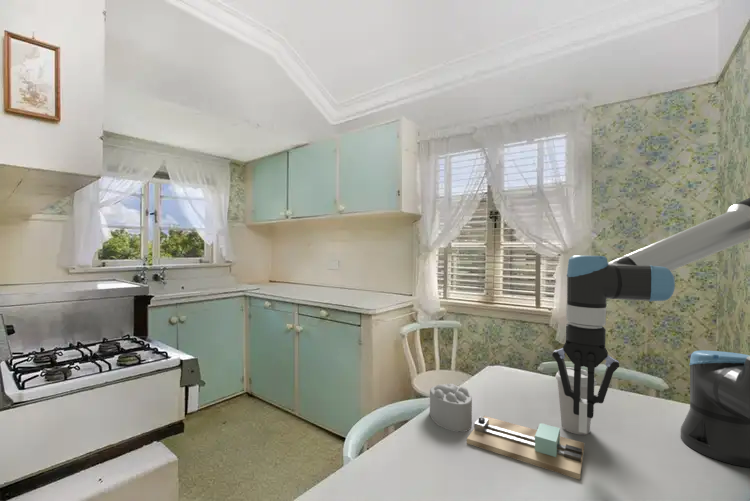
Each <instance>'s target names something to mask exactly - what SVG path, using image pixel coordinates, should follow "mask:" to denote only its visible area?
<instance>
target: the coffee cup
mask: <svg viewBox="0 0 750 501" xmlns="http://www.w3.org/2000/svg"><path fill="white" fill-rule="evenodd" d="M566 370H567V374H568V378H569V382H570V386H571V390H573V391H574V367H571V366H568V367H567V366H566ZM554 378H555V379H556V380H557V390H558V398H559V399H558V400H559V413H560V421H561V422H560V424H561V425H560V426H561V428H563V429H564V431H566V432H568V433H571V434H575V435H578V436H579V435H580V436H582V435H585V436H586V435H589V433H590V430H591V420H592V418H588V417H587V433H582V432H579V415H576V414H574V412H573V402H574V401H573V399H572V398H571V397H569V396H566V395H565V394H564V389H563V385H562V381H561V377H560V372H559V370H558V371H557V372H556V374H555V377H554ZM587 380H588V370H587V369H582V368H581V393H580V394H581V395H580V398H582V399H587ZM597 385H598V383H597V380H596V378H595V377H594V388H595V387H596V386H597Z"/></svg>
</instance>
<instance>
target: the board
mask: <svg viewBox="0 0 750 501" xmlns="http://www.w3.org/2000/svg"><path fill="white" fill-rule="evenodd" d="M482 417H483V418H487V419H489V425H492V426H496V427H499V428H503V429H507V430H510V431H514V432H517V433H521V434H524V435H528V436H531V437H535V434H536V432H537V429H534V428H532V427H531V428H530V427H527V426H523V425H519V424H516V423H513V422H508V421H506V420H501V419H497V418H493V417H489V416H486V415H483V416H482ZM487 429H488V428H487ZM489 430H491V429H489ZM492 431H495V430H492ZM495 432H498V431H495ZM499 433H502V432H499ZM502 434H505V433H502ZM506 435H509V434H506ZM509 436H512V435H509ZM513 437H516V436H513ZM516 438H519V437H516ZM520 439H523V438H520ZM523 440H526V439H523ZM526 441H530V440H526ZM530 442H533V441H530ZM533 443H535V442H533ZM466 444H467V445H471V446H475V447H477V448H480V449H483V450H485V451H489V452H493V453H496V454H498V455H502V456H506V457H509V458H512V459H514V460H518V461H520V462H524V463H526V464H529V465H533V466H537V467H539V468H542V469H545V470H548V471H550V472H551V471H552V472H555V473H557V474H560V475H564V476H567V477H571V478H573V479H577V480H581V474H582V468H583V460H584V453H585V442H582V441H578V440H575V439H570V438H567V437H563V436H561V435H560V445H563V446H566V444H567V445H570V446H574V447H577V448H581V449H582V455H581V462H579V461H576V460H572V459H569V458H565V457H564V456H561V455H558V454H557V456H556V457H553V456H550V455H547V454H543V453H540V452H537V451H535V448H534V447H531V446H527V445H524V444H521V443H517V442H514V441H511V440H507V439H504V438H501V437H497V436H494V435H490V434H487V433H482V432H478V431H475V430H474V429H473V430H472V431H471V432H470V434H468V436H467V438H466ZM557 450H561V449H557ZM561 451H564V450H561Z"/></svg>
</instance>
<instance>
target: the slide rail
mask: <svg viewBox="0 0 750 501" xmlns="http://www.w3.org/2000/svg"><path fill="white" fill-rule="evenodd" d="M473 426H474V429H473V430H475V431H478V432H482V433H487V434H490V435H494V436H497V437H501V438H504V439H507V440H511V441H514V442H517V443H521V444H524V445H527V446H531V447H534V448H535V443H533V442H535V437H531V436H528V435H524V434H521V433H517V432H514V431H510V430H507V429H503V428H499V427H496V426H492V425H489V419H487V418H483V416H479V417H478V418H477V419H476V421H475V422H474V424H473ZM487 428H488V429H487ZM489 429H491V430H489ZM492 430H495V431H498V432H495V431H492ZM499 432H502V433H505V434H502V433H499ZM506 434H509V435H512V436H509V435H506ZM513 436H516V437H519V438H516V437H513ZM520 438H523V439H526V440H530V441H533V442H530V441H526V440H523V439H520ZM557 449H561V450H564V451H561V450H557V454H558V455H561V456H564V457H565V458H569V459H572V460H576V461H579V462H581V455H582V449H581V448H577V447H574V446H570V445H567V444H566V446H563V445H560V444H557Z"/></svg>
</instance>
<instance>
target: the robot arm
mask: <svg viewBox="0 0 750 501" xmlns="http://www.w3.org/2000/svg"><path fill="white" fill-rule="evenodd" d="M747 241H750V197H749V198H746V199H744V200H742V201H739V202H736V203H734V204H733V205H731V206H729V207H728V208H727V209H726V212H724V213H722V214H720V215H718V216H715V217H712V218H710V219H708V220H705V221H703V222H701V223H698V224H696V225H694V226H692V227H689V228H687V229H685V230H682V231H679V232H677V233H674V234H673V235H670V236H667V237H665V238H663V239H660V240H658V241H655V242H653V243H651V244H649V245H646V246H643V247H642V248H639V249H637V250H635V251H632V252H630V253H628V254H625V255H623V256H620V257H617V258H615V259H613V260H611V261H608V258H607V257H606V256H605V255H583V254H582V255H578V254H577V255H575V254H574V255H572V256H570V257H569V258H568V260H567V262H568V263H567V269H566V270H567V271H566V272H567V273H566V294H567V295H566V311H565V314H566V322H567V324H566V325H565V342H564V344H563V346H562V348H559V349H554V350H553V352H552V353H551V354H552V357H553V358H554V360H555V362H556V364H557V368H558V371H559V372H560V377H561V381H562V385H563V389H564V394H565V395H566V396H569V397H571V398H572V399H573V401H574V402H573V412H574V414H576V415H579V432H582V433H587V417H588V418H591V419H593V418H594V413H595V412H594V411H595V410H594V405H595V404H603V403H604V401H605V398H606V395H607V392H608V389H609V386H610V385H611V381H612V378H613V375H614V373H615V372H616V371H617V369H618V368H619V367H620V361H619V360H618V359H616V358H613V357H612V356H610V355H609V353H608V352H609V351H608V350H607V348H606V334H607V332H606V328H605V327H604V326H606V322H607V300H627V301H630V300H631V301H642V302H643V301H646V302H650V303H651V302H663V301H668V300H670V299H671V297H672V296H673V295H674V292H675V288H676V287H675V284H676V280H675V277H674V274H673V273H672V271H674V270H677V269H679V268H682V267H684V266H687V265H689V264H691V263H694V262H696V261H699V260H702V259H705V258H707V257H710V256H711V255H714V254H717V253H719V252H721V251H726V250H727V249H729V248H731V247H734V246H736V245H740V244H742V243H745V242H747ZM565 354H566V355H565ZM566 356H567V357H568V359H569V360H570V362H571V363H572V364H573V368H574V391H573V390H571V386H570V382H569V378H568V374H567V370H566V367H567V366H566V362H565V357H566ZM604 361H605V366H606V369H605V372H604V374H603V377H602V380H601V384H600V386H599V389H598V392H597V394H595V387H594V378H595V370H596V368H597V367H599V365H600V364H602V363H603V362H604ZM688 366H689V410H688V412H687V415H686V416H685V418H684V420H683V422H682V425H681V426H680V440H681V441H682V442H683V444H685V445H686V446H688V447H689V448H691V449H692V450H694V451H696V452H698V453H700V454H702V455H704V456H707V457H709V458H711V459H714V460H717V461H719V462H723V463H726V464H729V465H734V466H740V467H745V468H750V355H749V354H744V353H739V352H732V351H731V352H730V351H721V350H719V351H718V350H704V349H703V350H694V351H693V352H692V353H691V354H690V359H689V364H688ZM582 367H583V368H584V367H585V368H587V371H588V380H587V399H582V398H580V395H581V394H580V393H581V369H582Z"/></svg>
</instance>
